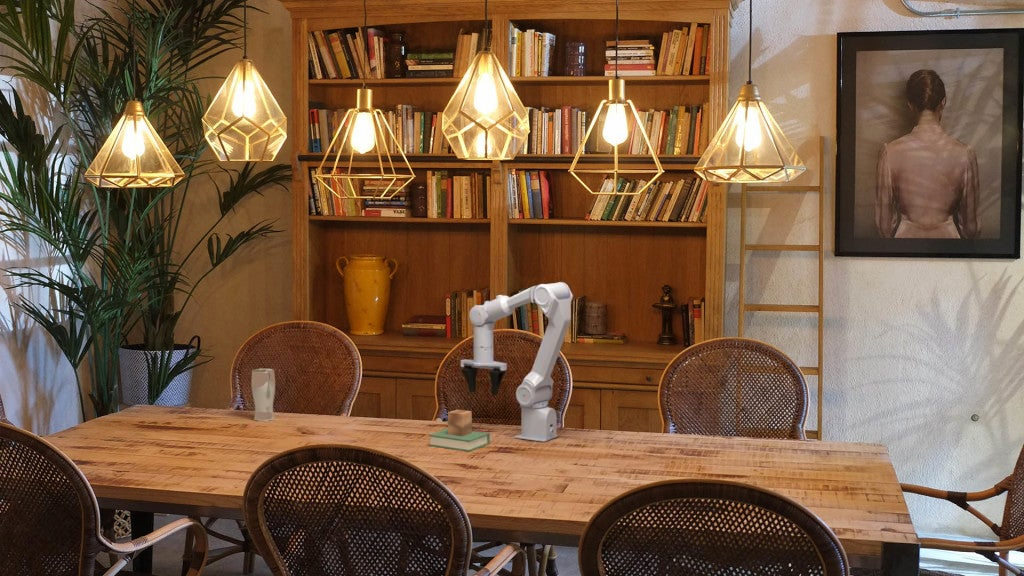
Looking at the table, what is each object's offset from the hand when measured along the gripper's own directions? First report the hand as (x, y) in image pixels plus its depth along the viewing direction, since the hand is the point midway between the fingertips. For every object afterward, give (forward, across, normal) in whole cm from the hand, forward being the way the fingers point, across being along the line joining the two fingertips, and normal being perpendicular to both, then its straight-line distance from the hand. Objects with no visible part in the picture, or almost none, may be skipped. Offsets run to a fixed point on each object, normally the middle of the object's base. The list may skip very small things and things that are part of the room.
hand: (483, 393), depth 303 cm
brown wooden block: (+7, +5, -20) cm, 22 cm away
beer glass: (+11, -64, -23) cm, 69 cm away
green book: (+10, +5, -20) cm, 23 cm away
